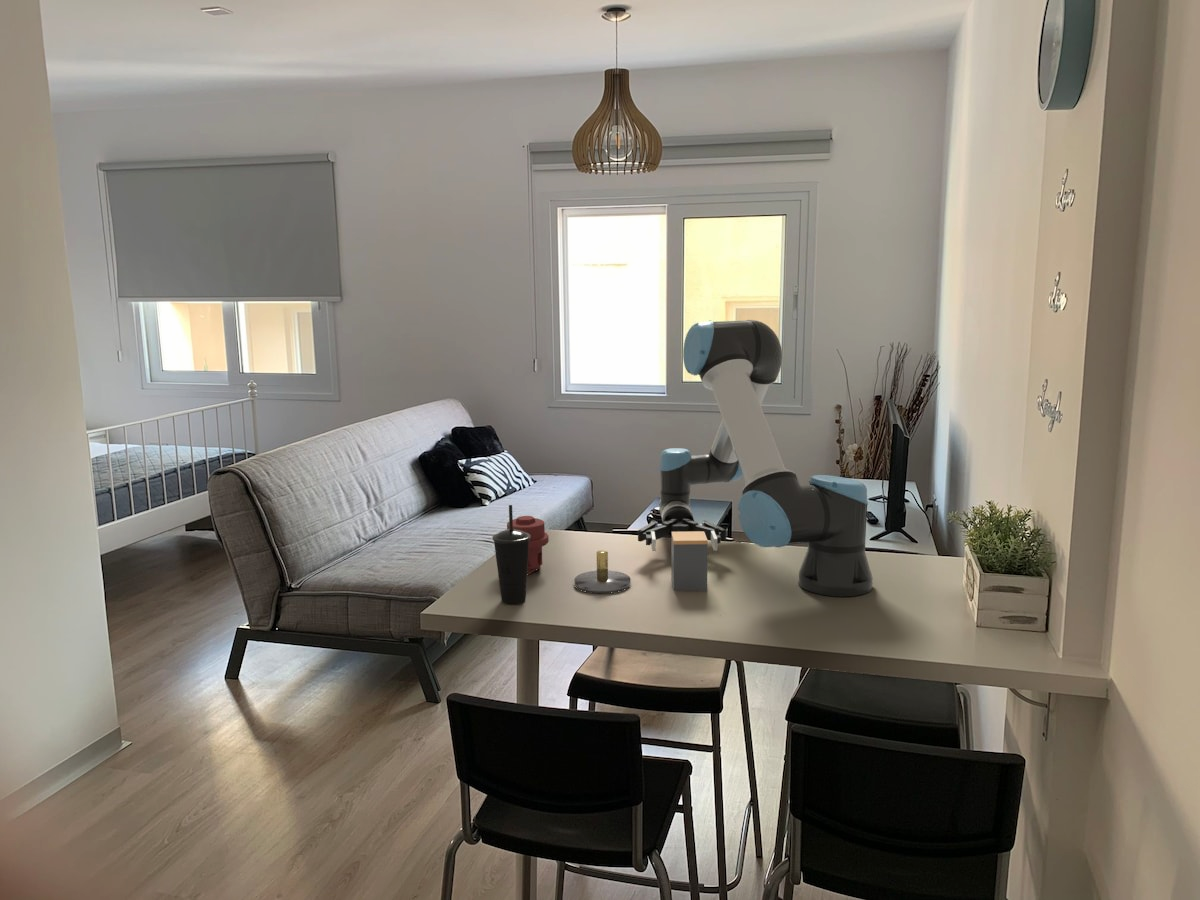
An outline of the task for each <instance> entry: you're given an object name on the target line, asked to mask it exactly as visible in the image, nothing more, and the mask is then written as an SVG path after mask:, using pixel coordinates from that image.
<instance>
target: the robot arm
mask: <svg viewBox="0 0 1200 900" xmlns="http://www.w3.org/2000/svg"><path fill="white" fill-rule="evenodd" d="M685 335H686V336H685V338H684V343H683V350H682V351H683V352H682V357H683V364H684V365H683V366H684V368H685V370H686V372H687V374H690V375H692V376H694V377H695V376H698V375H699V377H700V380H701V384H702V385H703V387H704V388H705V389H706V390H709V391H712V394H713V396H714V398H715V401H716V404H717V407H718V410H719V413H720V415H721V418H722V419H721V422H720V424H719V427H718V429H717V433H716V434H715V436H714V440H713V443H712V445H711V448H710V449H709V452H708V453H706V454H696V455H692V454H691V451H690V450H689V449H687V448H682V447H681V448H680V447H679V448H676V447H675V448H674V447H672V448H667V449H664V450H662V452H661V454H660V460H659V463H660V464H659V469H660V471H659V472H660V473H659V474H660V477H659V478H660V492H659V495H660V497H659V499H660V500H659V508H658V510H659V511H658V512H659V514H660V517H661V521H662V522H661V523H658V521H656V520H651V521H650V523H648V524H646V525H644V526H643V527H641V528H639V529H638V530H637V541H638V542H643V541H645V545H646V546H651V551H652V552H657V550H656V549H657V548H656V547H657V545H656V544H657V540H660V539H663V538H667V539H668V538H671V532H691V531H704V532H705V535H706V538H707V540H708V541H710V544H711V547H712V550H713V552H714V551H716V552H717V551H718V544H721V541H722V542H725V541H727V529H725V528H723V527H721V526H718V525H716V524H714V523H711V522H710V521H709V520H707V519H704V520H703V521H702V522H701V523H699V522H697V521H695V519H694V516H693V513H692V511H691V486H696V485H697V486H698V485H705V484H706V485H707V484H716V483H717V484H718V483H730V482H732V481H733V482H734V481H738V480H740V479H741V478H742V477H743V478H744V481H745V484H744V486H743V487H742V490H741V494H742V495H741V497H740V498H739V501H738V504H737V505H738V507H737V508H738V509H737V511H738V512H739V513H738V519H739V523H740V526H741V528H742V531H743V533H744V535H745V536H746V537H747V539H748V540H750V542H752V543H753V544H755V545H757V546H759V547H761V548H782V547H786V546H790V545H798V544H799V545H800V544H805V543H808V544H807V550H806V552H805V556H804V557H803V561H802V564H801V566H800V568H799V571H798V585H799V586H800V587H801V588H802V589H804V590H805V591H809V592H810V593H813V594H818V595H823V596H829V597H841V598H842V597H856V596H862V595H865V594H867V593H869V592H871V591H872V590H873V574H872V571H871V568H870V564H869V561H868V557H867V553H866V538H867V537H866V536H867V533H866V532H867V515H868V514H867V512H868V506H869V502H868V489H867V486H866V485H865V484H864V483H862V482H861V481H858V480H856V479H852V478H848V477H841V476H837V475H836V476H835V475H826V474H815V475H811V476H810V478H809V481H808V483H809V484H807V485H801V484H800V482H799V479H798V477H797V474H796V473H795V471H793V470H791V469H787V468H786V467H785V464H784V462H783V459H782V456H781V454H780V452H779V449H778V447H777V444H776V441H775V438H774V436H773V434H772V430H771V428H770V425H769V423H768V421H767V418H766V416H765V413H764V410H763V407H762V404H763V402H764V398H765V396H766V394H767V392H768V389H769V387H770V385H772V384H775V382H776V381H777V379H778V377H779V374H780V372H781V369H782V363H783V350H782V345H781V342H780V339H779V337H778V336H777V334H776V332H775V331H774V330H773V329H772V328H771V327H770V326H768V325H767V324H765V323H763V322H762V321H759V320H755V319H747V320H725V321H724V320H723V321H713V320H708V321H699V322H695V323H694V324H693V325H691V327H689V329H688V331H687V333H686V334H685Z"/></svg>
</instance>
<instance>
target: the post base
mask: <svg viewBox="0 0 1200 900" xmlns="http://www.w3.org/2000/svg"><path fill="white" fill-rule="evenodd" d="M608 554H609V552H608V550H603V549H602V550H597V551H596V570H591V571H586V572H582V573H580V574H578V575H576V576H575V577H574V587H575V586H576V587H577V588H578V589H580V590H582V591H581V592H583V591H586V592H585V593H587V592H592V593H591V594H594V593H610V594H612V593H611V592H617V593H619V592H618V591H621V592H623V591H622V590H624V589H626V590H628V589H629V588H630V587H631V585H630V584H631V583H632V582H631V581H632V579H631V577H630V576H629V575H628V574H626V573H624V572H621V571H617V570H609V555H608ZM629 586H630V587H629ZM576 587H575V588H576ZM628 587H629V588H628ZM577 588H576V589H577ZM627 588H628V589H627ZM578 589H577V590H578ZM580 590H579V591H580ZM624 591H625V590H624Z"/></svg>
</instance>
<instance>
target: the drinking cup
mask: <svg viewBox="0 0 1200 900" xmlns="http://www.w3.org/2000/svg"><path fill="white" fill-rule="evenodd" d="M508 519H509V521H508V522H509V527H510V529H509V530H507V529H504V530H501V531H499V532H497V533H495V534H493V536H492V539H491V540H492V541H493V543H494V552H495V560H496V567H497V576H498V582H499V583H498V584H499V590H500V598H501V599H500V600H501V602H502V604H504V605H510V606H513V605H514V606H515V605H520V604H521V605H522V604H523V603H525V602H526V597H527V581H528V579H527V578H528V575H527V567H528V550H529V539H530V538H531V536H530V534H529V533H526V532H523V531H521V530H516V529H513V520H514V518H513V505H512V504H508Z"/></svg>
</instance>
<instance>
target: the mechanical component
mask: <svg viewBox="0 0 1200 900" xmlns="http://www.w3.org/2000/svg"><path fill="white" fill-rule="evenodd" d="M509 529H510V527H509V521H507V522H506V530H509ZM513 529H516V530H521V531H523V532H526V533H529V534H530V536H531V538H530V539H529V550H528V567H527V574H529V575H530V574H531V573H533V572H535V571H534V570H536V569H539V568H540V569H541V567H542V566H543V547H544V546H546V545H547V544H548V543H549V534H548V533H547V532H545V530H546V528H545V521H544V520H542V519H540V518H538V517H537V518H535V517H534V516H532V515H520V516H518V517H517V518H513ZM540 569H539V570H540ZM532 571H533V572H532ZM536 571H537V570H536ZM530 572H531V573H530Z"/></svg>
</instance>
